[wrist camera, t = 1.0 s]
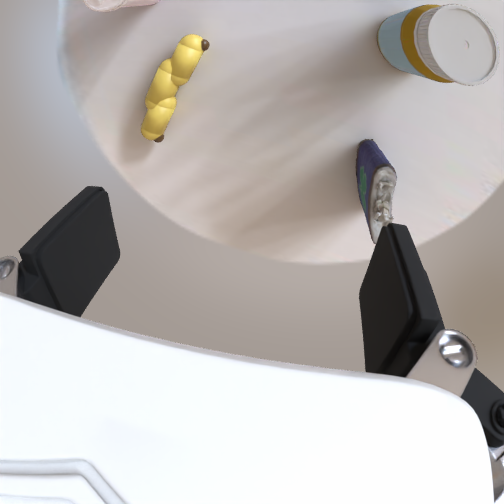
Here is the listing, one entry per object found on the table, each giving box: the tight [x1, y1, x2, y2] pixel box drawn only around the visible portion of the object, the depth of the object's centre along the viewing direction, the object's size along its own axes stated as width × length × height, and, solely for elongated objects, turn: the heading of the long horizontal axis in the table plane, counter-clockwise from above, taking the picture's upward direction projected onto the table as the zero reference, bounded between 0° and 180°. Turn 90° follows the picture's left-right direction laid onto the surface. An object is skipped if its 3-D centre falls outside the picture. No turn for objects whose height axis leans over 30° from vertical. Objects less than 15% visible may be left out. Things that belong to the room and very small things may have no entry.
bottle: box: [377, 4, 500, 86], centre depth 20 cm, size 7×7×15 cm
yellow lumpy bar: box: [141, 34, 209, 142], centre depth 32 cm, size 14×4×3 cm, turn 150°
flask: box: [356, 139, 397, 244], centre depth 32 cm, size 9×3×11 cm, turn 10°
